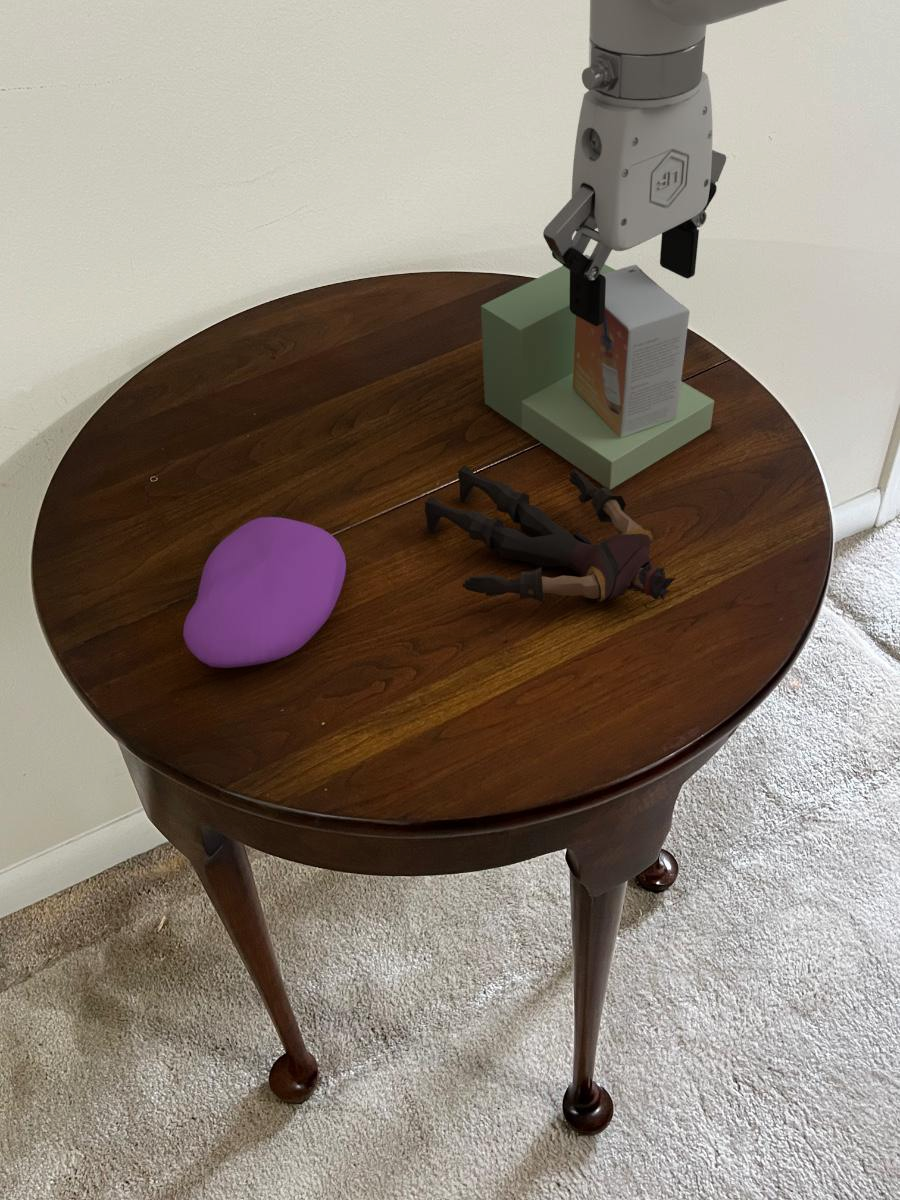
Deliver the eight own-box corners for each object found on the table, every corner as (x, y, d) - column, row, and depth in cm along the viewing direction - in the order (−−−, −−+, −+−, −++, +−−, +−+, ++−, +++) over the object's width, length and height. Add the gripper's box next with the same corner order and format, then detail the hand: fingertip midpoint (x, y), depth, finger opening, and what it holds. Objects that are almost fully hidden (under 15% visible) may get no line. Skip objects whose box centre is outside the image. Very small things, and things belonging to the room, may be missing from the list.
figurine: (393, 578, 87) (619, 677, 78) (385, 537, 84) (619, 635, 75) (502, 472, 95) (718, 550, 86) (498, 432, 92) (722, 507, 83)
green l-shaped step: (710, 428, 96) (725, 328, 89) (609, 490, 92) (616, 389, 84) (582, 351, 106) (586, 254, 98) (484, 403, 101) (480, 305, 93)
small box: (571, 389, 96) (574, 280, 89) (627, 370, 98) (635, 261, 90) (619, 440, 91) (627, 329, 84) (678, 420, 93) (691, 308, 85)
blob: (245, 711, 78) (231, 664, 74) (142, 641, 83) (124, 594, 79) (381, 590, 85) (374, 543, 82) (279, 533, 90) (268, 486, 87)
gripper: (589, 120, 69) (584, 358, 81) (776, 41, 76) (745, 271, 88) (509, 87, 73) (516, 318, 85) (693, 16, 80) (675, 238, 92)
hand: (632, 294), depth 87 cm, fingers open, 9 cm apart
